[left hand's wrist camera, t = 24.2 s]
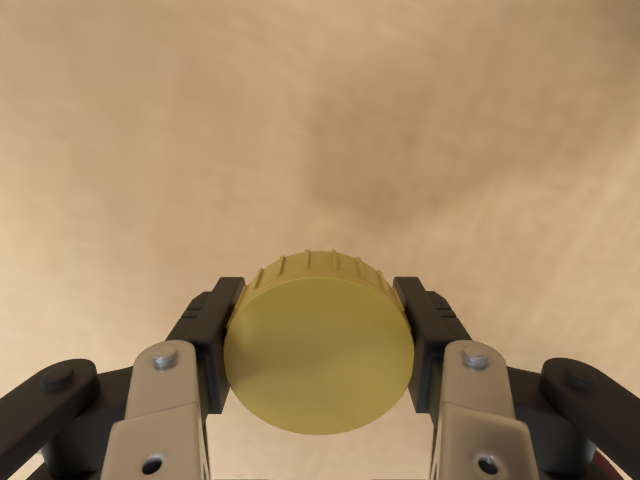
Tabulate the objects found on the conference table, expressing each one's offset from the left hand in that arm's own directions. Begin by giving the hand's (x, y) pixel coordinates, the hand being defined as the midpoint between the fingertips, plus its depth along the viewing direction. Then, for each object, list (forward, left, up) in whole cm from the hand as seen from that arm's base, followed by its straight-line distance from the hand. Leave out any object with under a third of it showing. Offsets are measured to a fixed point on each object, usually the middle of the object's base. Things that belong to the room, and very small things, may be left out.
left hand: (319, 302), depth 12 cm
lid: (0, 0, +3) cm, 3 cm away
